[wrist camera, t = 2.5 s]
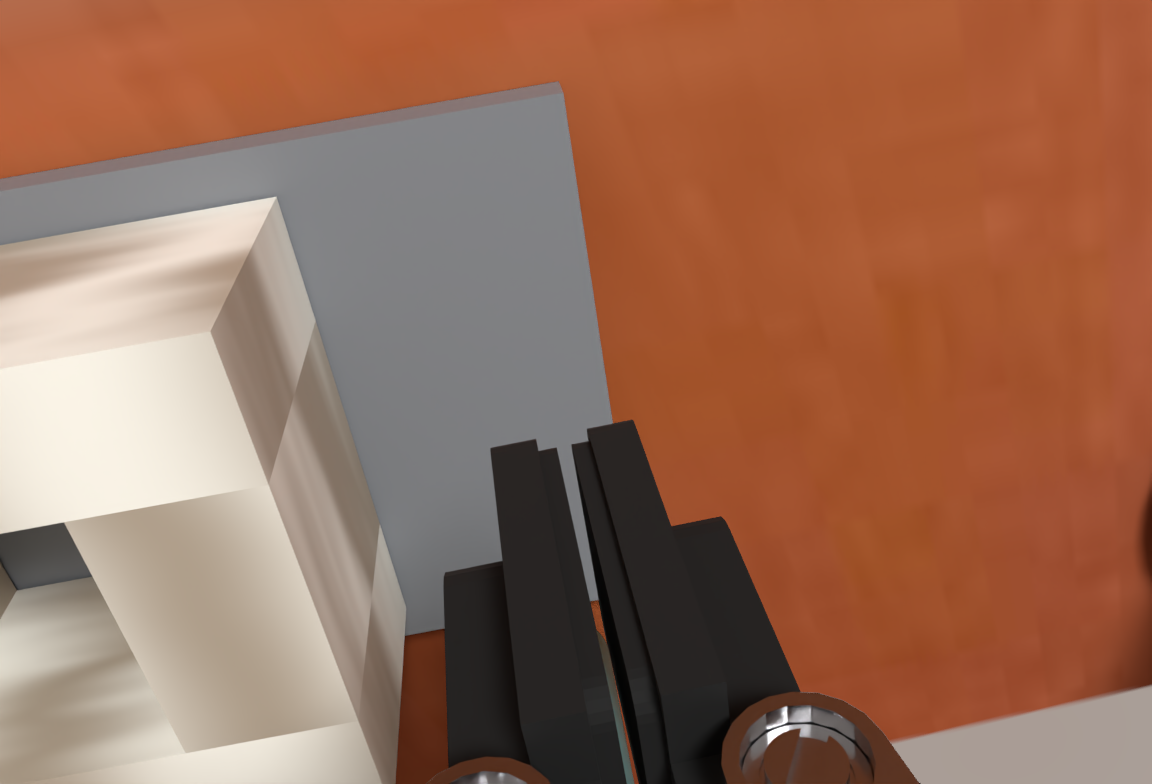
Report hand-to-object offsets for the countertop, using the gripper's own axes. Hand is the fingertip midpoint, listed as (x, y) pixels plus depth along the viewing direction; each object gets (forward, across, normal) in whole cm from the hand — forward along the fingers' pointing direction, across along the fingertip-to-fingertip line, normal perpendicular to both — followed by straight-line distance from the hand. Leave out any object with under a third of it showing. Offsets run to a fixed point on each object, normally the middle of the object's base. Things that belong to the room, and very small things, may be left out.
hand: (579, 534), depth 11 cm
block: (+10, +10, +4) cm, 15 cm away
